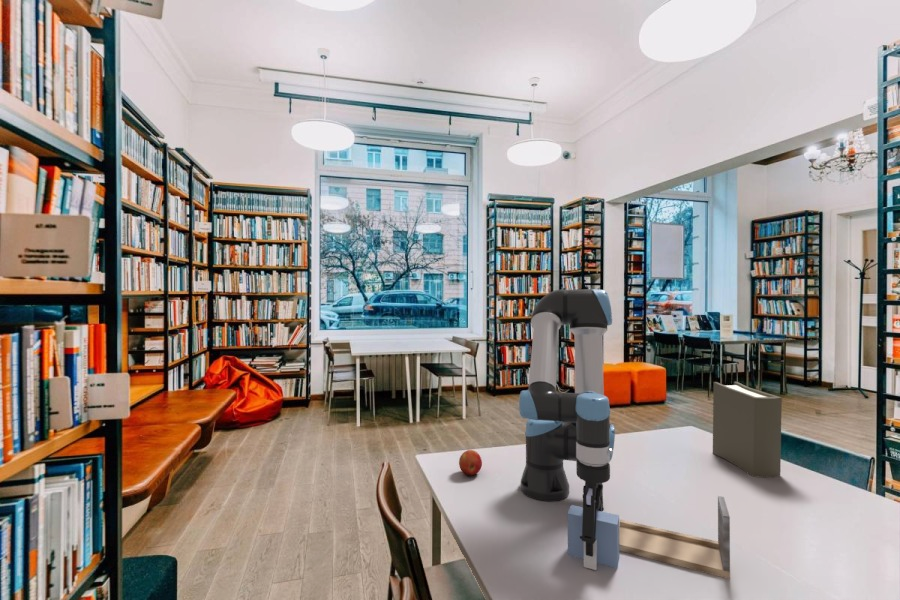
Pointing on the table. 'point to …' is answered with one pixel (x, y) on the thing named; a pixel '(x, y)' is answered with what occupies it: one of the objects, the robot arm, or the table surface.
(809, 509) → the table surface
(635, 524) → the shelf
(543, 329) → the robot arm
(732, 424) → the book
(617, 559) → the slim book
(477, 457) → the apple
